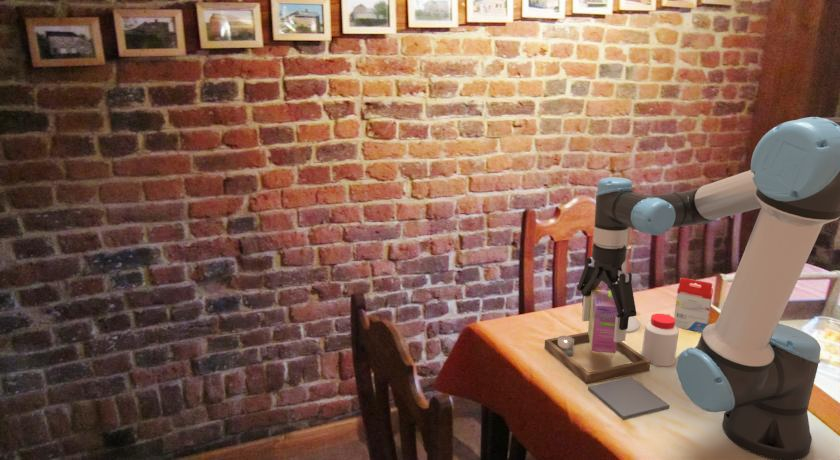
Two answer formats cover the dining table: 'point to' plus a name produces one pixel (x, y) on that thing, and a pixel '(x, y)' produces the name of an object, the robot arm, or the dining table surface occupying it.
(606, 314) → the box
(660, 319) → the pill bottle
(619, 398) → the coaster
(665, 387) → the dining table surface
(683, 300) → the ink box
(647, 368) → the wooden tray
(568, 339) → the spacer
